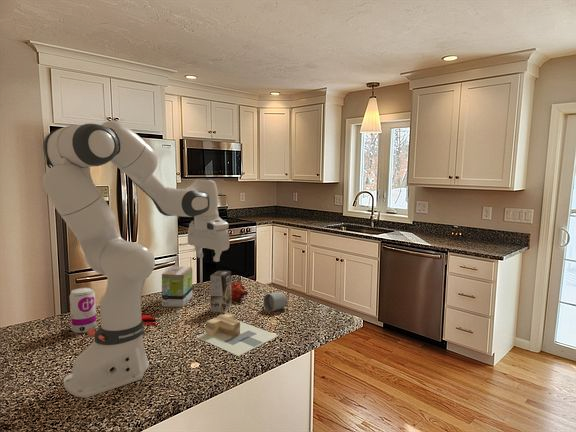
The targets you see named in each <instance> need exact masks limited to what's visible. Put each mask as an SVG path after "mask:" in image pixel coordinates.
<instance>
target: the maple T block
mask: <svg viewBox="0 0 576 432" xmlns="http://www.w3.org/2000/svg"><path fill="white" fill-rule="evenodd" d="M238 321H239V320H238ZM238 321H236V314H234V313H231V312H228V313H225V314H222V315H220V316H219V315H218V316H217V317H214V318H212V319H211V318H210V319H208V320H206V321H205V322H206V325H205V327H206V332H207V334H210V335H212V336H213V335H216V334H218V333H223V334H226V335H228V336H231V337H235V336H237V335H239V334H240V322H241V321H240V322H238ZM206 332H205V333H206Z"/></svg>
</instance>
